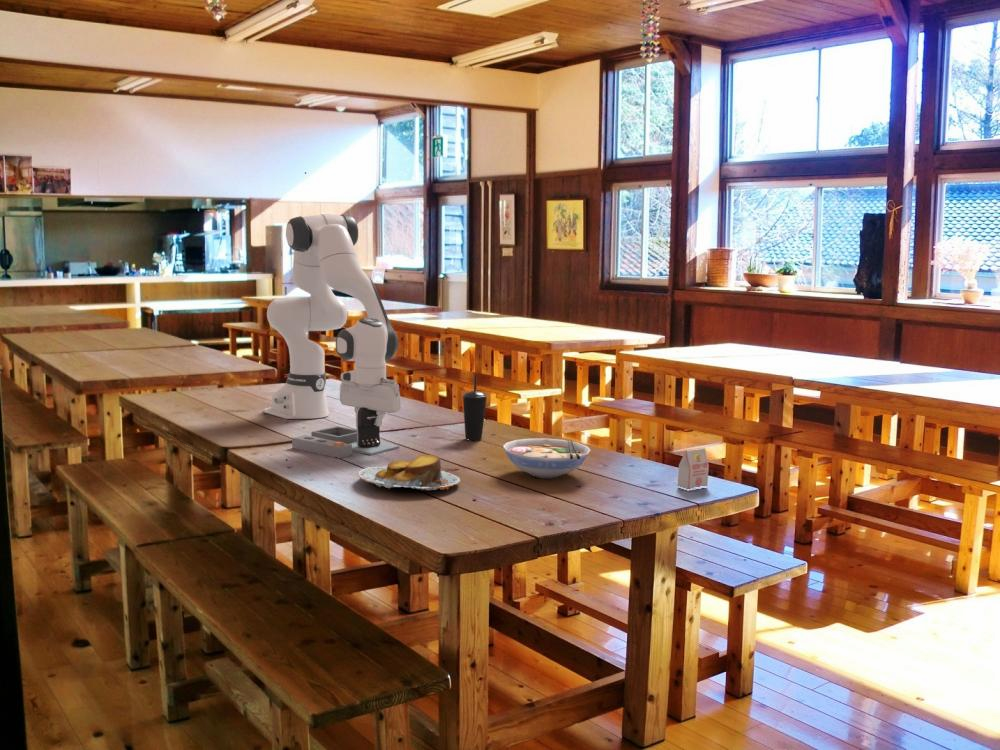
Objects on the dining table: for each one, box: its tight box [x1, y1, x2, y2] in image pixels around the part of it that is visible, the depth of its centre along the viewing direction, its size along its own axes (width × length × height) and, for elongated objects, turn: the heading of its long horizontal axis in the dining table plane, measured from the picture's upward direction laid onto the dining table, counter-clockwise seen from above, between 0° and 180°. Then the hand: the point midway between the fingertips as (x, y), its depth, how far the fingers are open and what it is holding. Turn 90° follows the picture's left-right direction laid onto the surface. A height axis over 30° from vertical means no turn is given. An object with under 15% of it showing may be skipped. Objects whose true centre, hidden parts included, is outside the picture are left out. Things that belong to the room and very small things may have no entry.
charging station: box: [291, 425, 357, 459], centre depth 277 cm, size 22×22×4 cm
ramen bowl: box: [502, 437, 591, 479], centre depth 252 cm, size 25×23×8 cm
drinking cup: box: [461, 373, 488, 441], centre depth 291 cm, size 8×8×20 cm
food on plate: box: [357, 453, 462, 491], centre depth 239 cm, size 25×25×7 cm
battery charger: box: [355, 407, 381, 447], centre depth 275 cm, size 7×4×11 cm, turn 126°
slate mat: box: [351, 441, 400, 456], centre depth 276 cm, size 12×12×1 cm
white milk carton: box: [677, 448, 710, 489], centre depth 244 cm, size 4×7×10 cm, turn 123°
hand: (369, 424), depth 275 cm, fingers closed on battery charger, 5 cm apart
